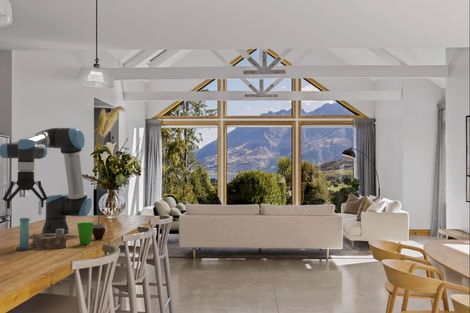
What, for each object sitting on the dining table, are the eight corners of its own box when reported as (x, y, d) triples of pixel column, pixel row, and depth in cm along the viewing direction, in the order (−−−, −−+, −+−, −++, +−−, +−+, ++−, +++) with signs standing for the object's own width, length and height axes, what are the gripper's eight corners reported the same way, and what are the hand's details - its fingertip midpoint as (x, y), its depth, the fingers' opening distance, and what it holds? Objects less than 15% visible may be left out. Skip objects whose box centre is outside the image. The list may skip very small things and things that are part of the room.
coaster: (30, 248, 266) (30, 246, 266) (33, 250, 260) (33, 248, 260) (14, 249, 262) (14, 247, 262) (17, 251, 256) (17, 249, 256)
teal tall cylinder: (28, 246, 264) (28, 217, 265) (29, 247, 260) (30, 218, 261) (18, 247, 262) (18, 218, 262) (19, 248, 258) (20, 218, 258)
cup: (97, 243, 286) (98, 222, 286) (87, 245, 277) (88, 224, 277) (83, 242, 289) (83, 221, 289) (72, 244, 280) (73, 223, 280)
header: (56, 242, 287) (56, 225, 287) (65, 247, 270) (66, 229, 270) (32, 243, 280) (32, 226, 281) (40, 249, 263) (41, 230, 264)
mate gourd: (98, 238, 307) (99, 211, 307) (108, 239, 303) (109, 212, 303) (88, 239, 301) (89, 212, 301) (99, 240, 297) (99, 213, 297)
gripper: (50, 170, 272) (49, 213, 272) (-4, 170, 258) (-4, 215, 258) (54, 171, 265) (53, 214, 265) (-1, 171, 252) (-2, 216, 252)
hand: (25, 215), depth 262 cm, fingers open, 13 cm apart
